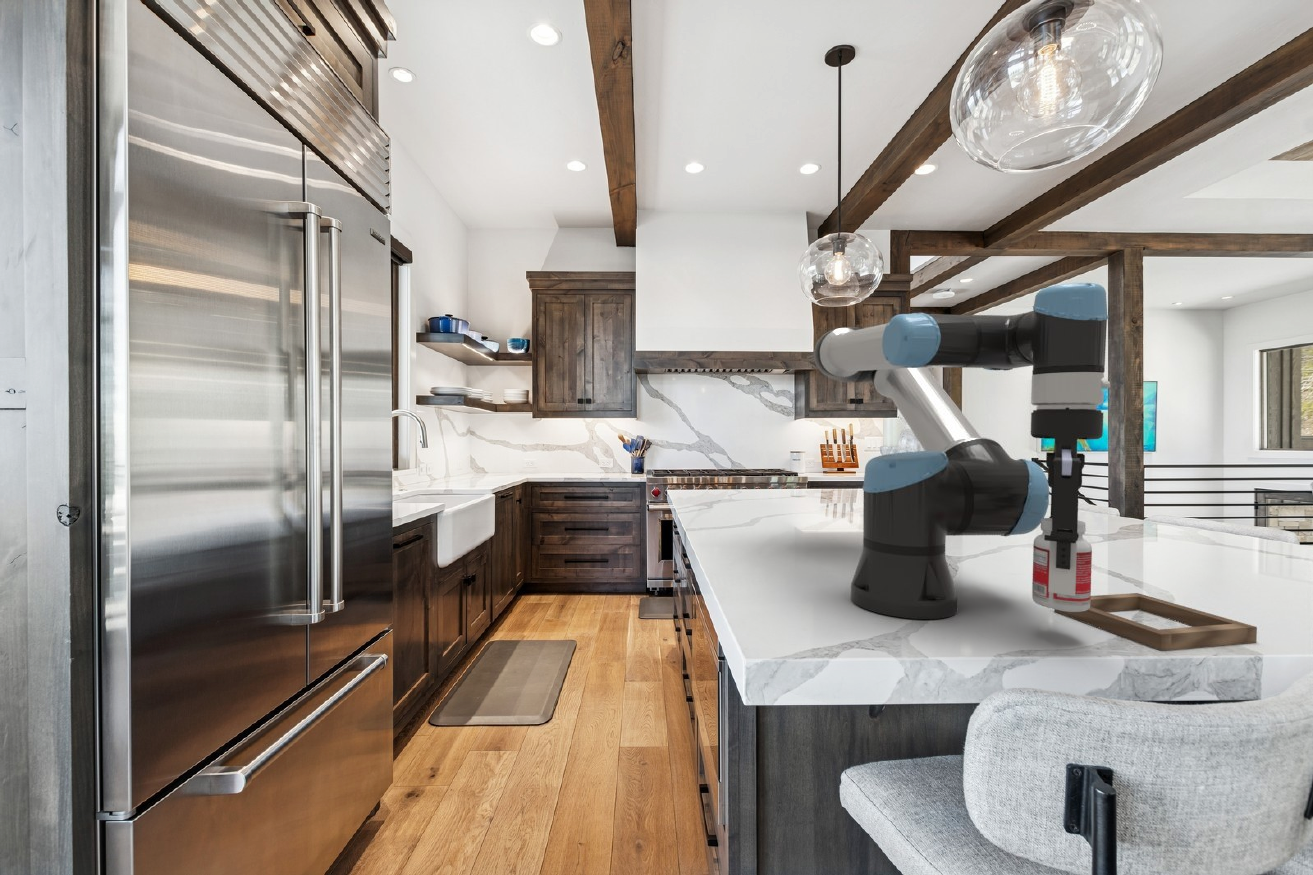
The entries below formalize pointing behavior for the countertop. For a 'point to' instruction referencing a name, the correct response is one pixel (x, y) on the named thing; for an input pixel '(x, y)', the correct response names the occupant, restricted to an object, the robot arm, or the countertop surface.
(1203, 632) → the brown wooden square frame
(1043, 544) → the pill bottle
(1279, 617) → the countertop surface
